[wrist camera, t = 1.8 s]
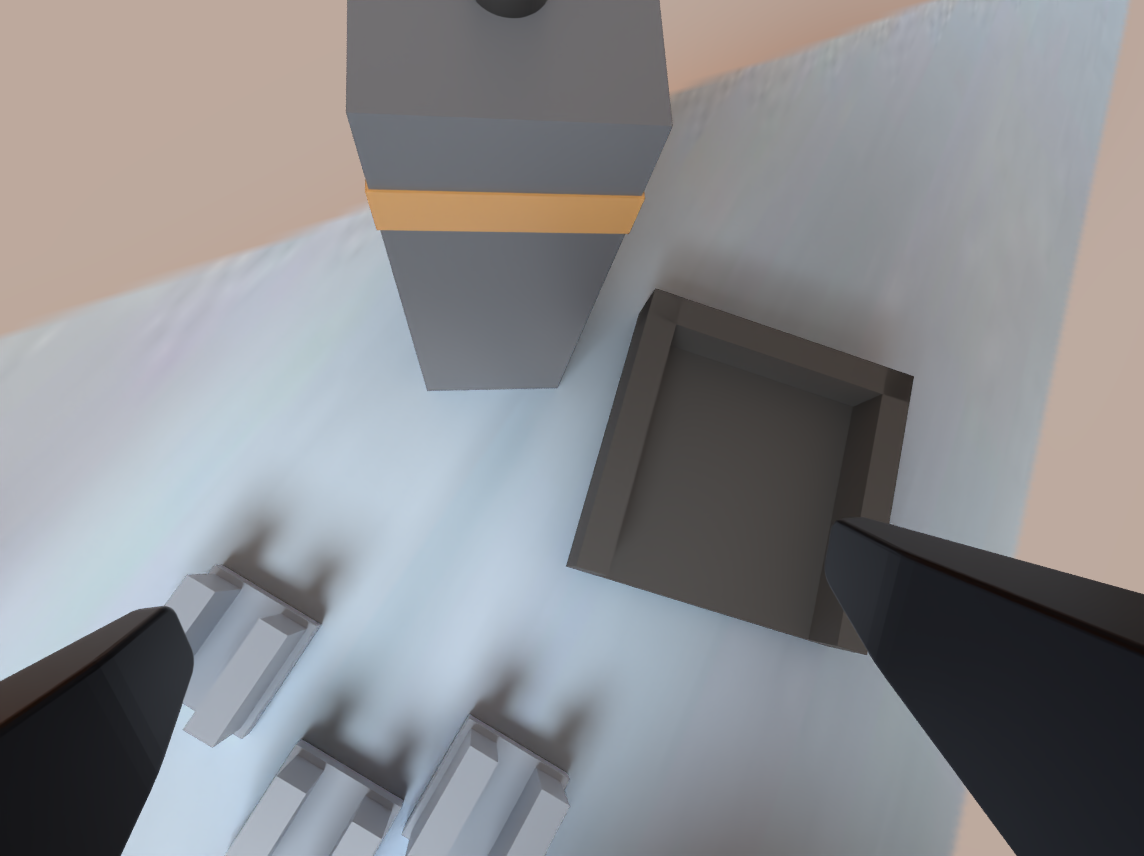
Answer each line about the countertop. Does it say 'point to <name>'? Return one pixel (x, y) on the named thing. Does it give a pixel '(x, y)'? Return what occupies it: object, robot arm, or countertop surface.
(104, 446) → the countertop surface
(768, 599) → the dark grey square tray
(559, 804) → the clips
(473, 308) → the connector
